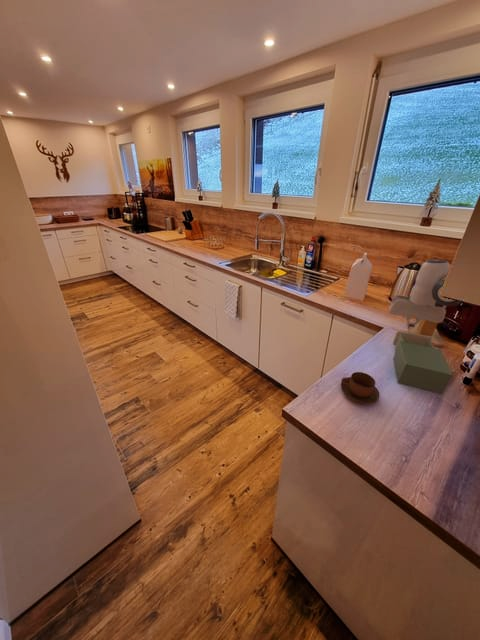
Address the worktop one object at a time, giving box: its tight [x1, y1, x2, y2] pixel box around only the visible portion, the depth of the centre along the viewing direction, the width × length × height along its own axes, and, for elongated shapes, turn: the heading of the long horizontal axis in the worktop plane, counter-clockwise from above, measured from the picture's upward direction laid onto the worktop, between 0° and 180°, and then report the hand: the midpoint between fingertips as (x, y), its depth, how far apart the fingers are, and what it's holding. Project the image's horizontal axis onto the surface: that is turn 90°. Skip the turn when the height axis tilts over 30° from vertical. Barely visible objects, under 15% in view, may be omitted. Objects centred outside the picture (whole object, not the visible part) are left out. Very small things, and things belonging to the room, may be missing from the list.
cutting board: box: [406, 322, 446, 349], centre depth 123 cm, size 12×18×2 cm, turn 158°
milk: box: [342, 252, 373, 302], centre depth 157 cm, size 12×12×26 cm
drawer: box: [391, 329, 435, 351], centre depth 107 cm, size 19×12×7 cm, turn 158°
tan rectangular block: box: [418, 320, 439, 336], centre depth 118 cm, size 5×5×20 cm
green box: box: [392, 341, 454, 395], centre depth 95 cm, size 16×14×9 cm
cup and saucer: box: [340, 371, 381, 405], centre depth 87 cm, size 12×12×6 cm
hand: (410, 326), depth 116 cm, fingers closed
